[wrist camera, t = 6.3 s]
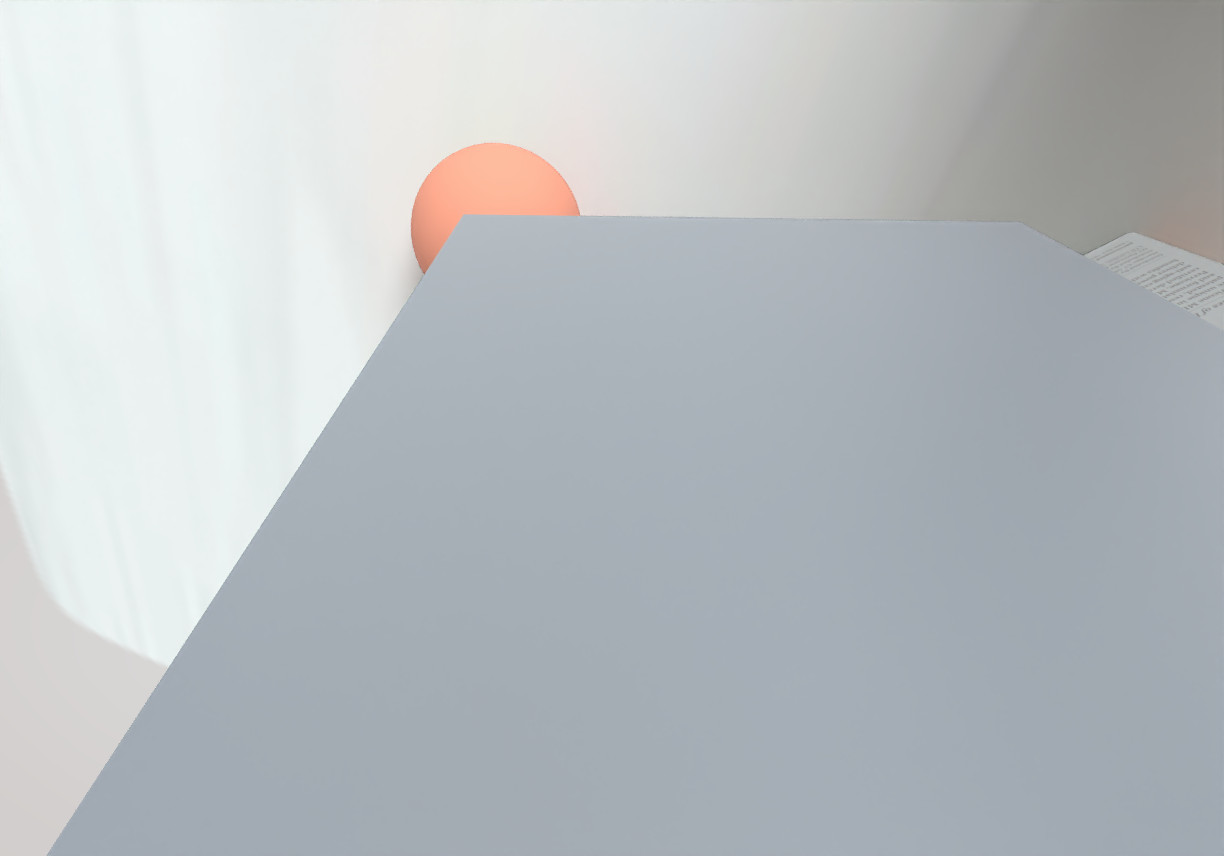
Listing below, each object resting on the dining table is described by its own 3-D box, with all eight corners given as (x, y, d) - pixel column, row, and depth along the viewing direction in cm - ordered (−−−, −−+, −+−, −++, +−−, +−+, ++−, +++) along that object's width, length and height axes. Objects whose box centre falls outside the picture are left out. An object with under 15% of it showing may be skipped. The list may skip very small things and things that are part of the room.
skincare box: (1164, 362, 27) (1531, 579, 16) (1050, 414, 28) (1326, 650, 17) (1135, 221, 24) (1551, 373, 14) (1009, 284, 25) (1309, 469, 15)
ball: (585, 136, 22) (584, 163, 18) (580, 290, 25) (578, 347, 20) (423, 127, 22) (382, 153, 18) (435, 284, 24) (401, 341, 20)
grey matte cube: (1020, 221, 10) (2356, 933, 2) (896, 619, 14) (1247, 1359, 6) (463, 214, 10) (-13, 943, 2) (499, 618, 14) (373, 1373, 6)
